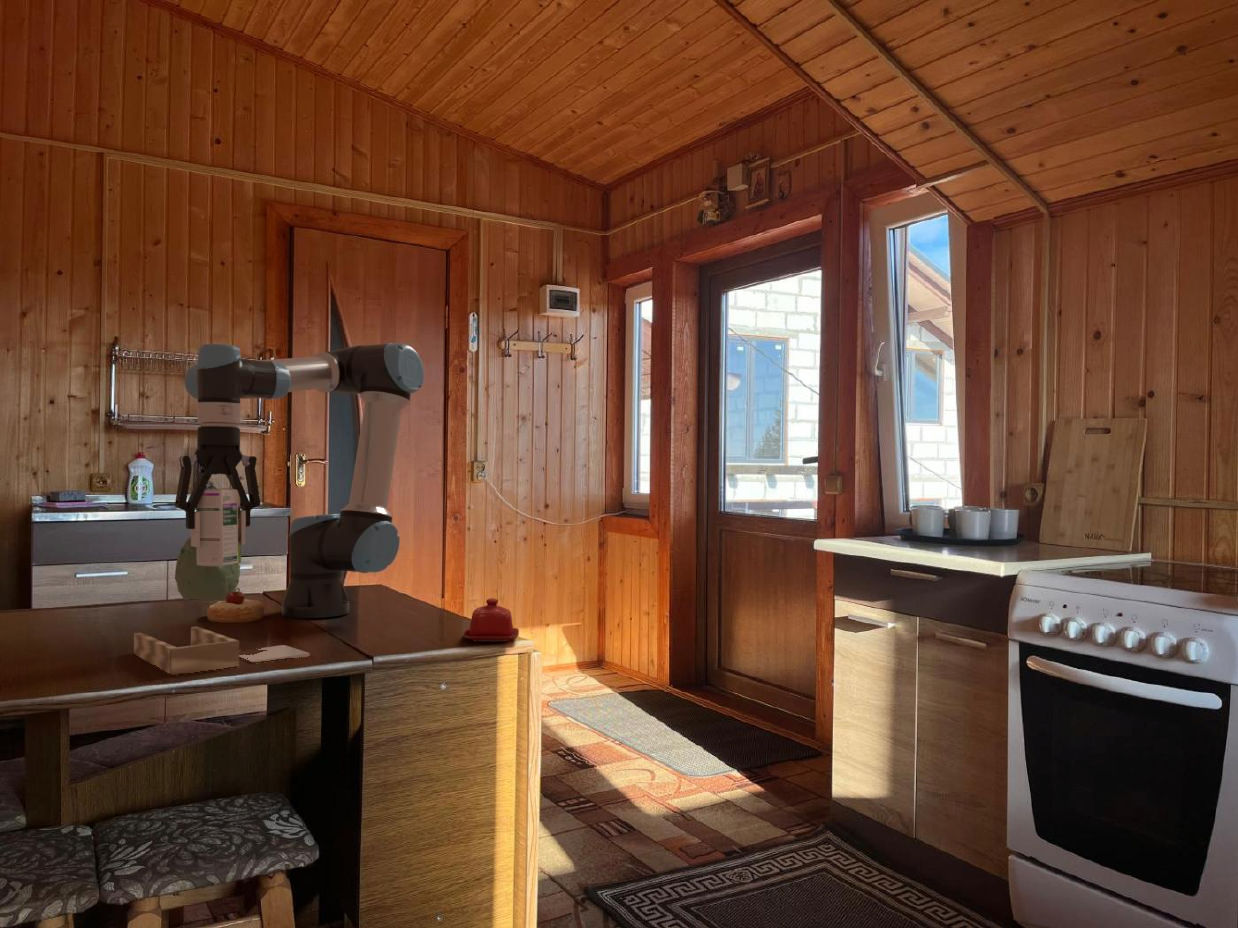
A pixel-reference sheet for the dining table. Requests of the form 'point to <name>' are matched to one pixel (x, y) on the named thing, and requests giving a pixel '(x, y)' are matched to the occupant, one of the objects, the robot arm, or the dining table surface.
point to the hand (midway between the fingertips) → (218, 545)
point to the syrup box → (219, 528)
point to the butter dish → (491, 623)
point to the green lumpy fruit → (203, 577)
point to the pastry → (235, 609)
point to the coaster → (275, 654)
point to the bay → (189, 652)
